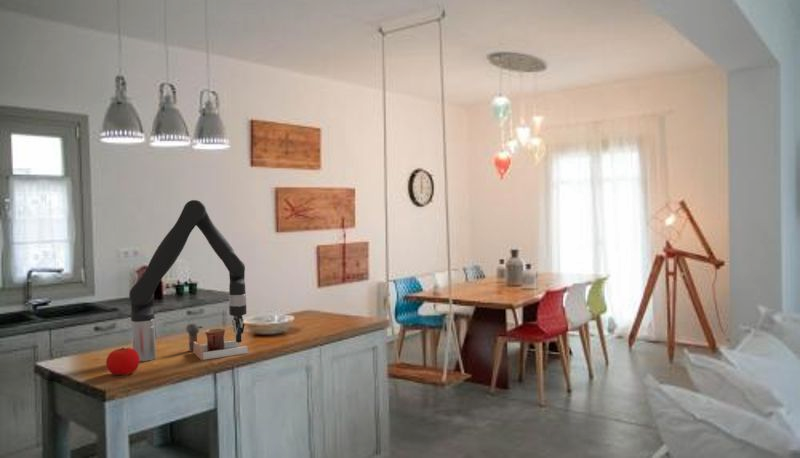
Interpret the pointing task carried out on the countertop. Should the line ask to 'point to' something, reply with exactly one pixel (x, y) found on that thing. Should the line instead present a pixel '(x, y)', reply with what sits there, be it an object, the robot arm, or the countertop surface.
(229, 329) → the countertop surface
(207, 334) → the mug
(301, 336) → the countertop surface
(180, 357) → the countertop surface
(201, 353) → the tray
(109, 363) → the tomato
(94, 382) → the countertop surface
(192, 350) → the winch prop
